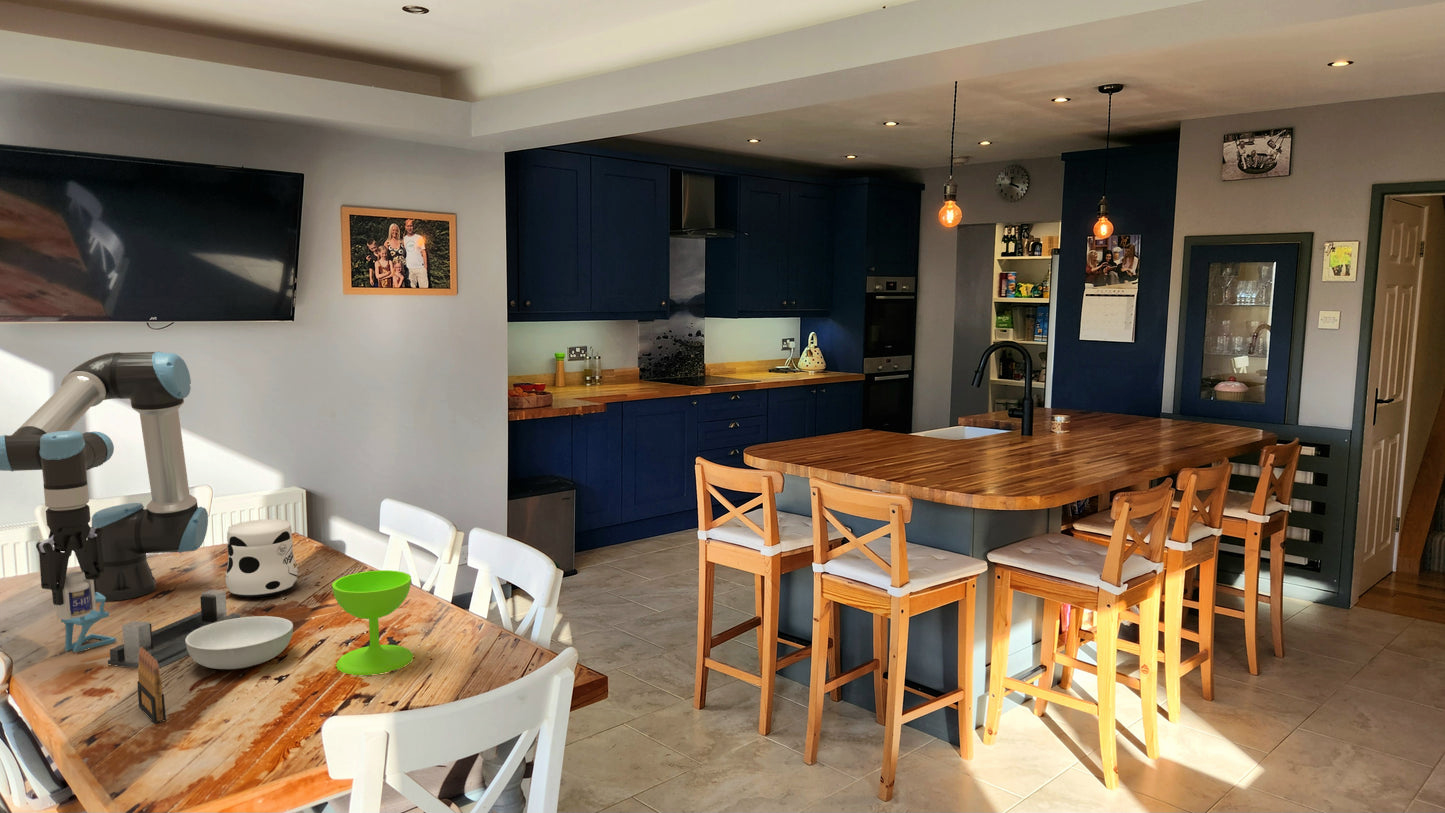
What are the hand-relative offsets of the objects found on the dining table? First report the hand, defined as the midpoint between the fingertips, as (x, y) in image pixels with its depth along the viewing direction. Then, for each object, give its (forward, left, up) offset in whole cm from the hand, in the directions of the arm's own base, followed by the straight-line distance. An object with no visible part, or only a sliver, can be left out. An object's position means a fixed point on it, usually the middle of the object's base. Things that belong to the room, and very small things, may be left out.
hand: (76, 613), depth 201 cm
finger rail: (-16, +10, -12) cm, 22 cm away
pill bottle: (0, 0, 0) cm, 1 cm away
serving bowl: (-12, +30, -12) cm, 35 cm away
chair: (-11, -10, -12) cm, 19 cm away
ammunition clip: (+14, +32, -12) cm, 37 cm away
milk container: (-54, +1, -12) cm, 55 cm away
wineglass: (-19, +58, -12) cm, 62 cm away
